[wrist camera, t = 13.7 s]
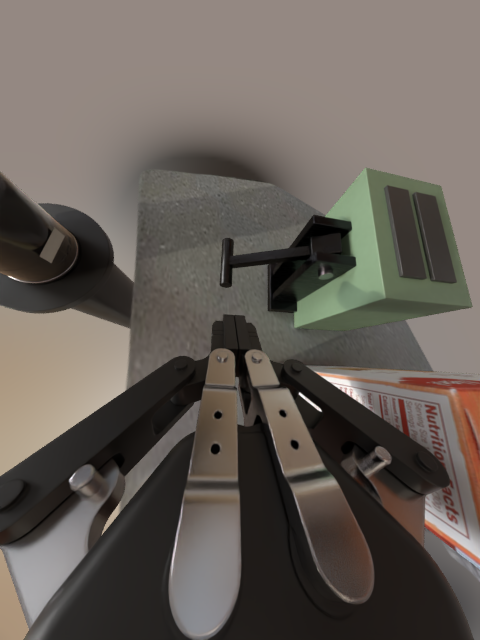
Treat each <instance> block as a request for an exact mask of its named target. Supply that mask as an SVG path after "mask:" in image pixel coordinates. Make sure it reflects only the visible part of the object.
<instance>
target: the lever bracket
mask: <svg viewBox="0 0 480 640" xmlns="http://www.w3.org/2000/svg"><path fill="white" fill-rule="evenodd" d="M351 230H352V223H351V221H345V220H340V219H334V218H329V217H323V216H318V215H313V216H312V218H311V219H310V220H309V222H308V223H307V224H306V226H305V227H304V228H303V230H302V231H301V232H300V234H299V235H298V237H297V238H296V239H295V241H294V242H293V243H292V245H291V246H290V247H289V248H295V247H303V246H309V243H310V238H311V237H313V236H320V235H327V234H333V233H340V234H341V239H342V238H343V237H345V236H346V235H347V234H348V233H349V232H350V231H351ZM354 267H356V257H353V256H346V255H339V254H332V253H326V252H319V251H316V252H315V253H314V254H313V255H312V256H310V257H309V258H308V259H307V260H300V261H291V262H283V263H274V264H269V265H268V311H275V312H288V313H295V312H297V302H298V301H300V300H302V299H303V298H305V297H307V296H308V295H310V294H311V293H313V292H315V291H316V290H318V289H320V288H321V287H323V286H325V285H326V284H328V283H329V282H331V281H333V280H334V279H336V278H338V277H339V276H341V275H343V274H344V273H346V272H347V271H349V270H351V269H352V268H354Z"/></svg>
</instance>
